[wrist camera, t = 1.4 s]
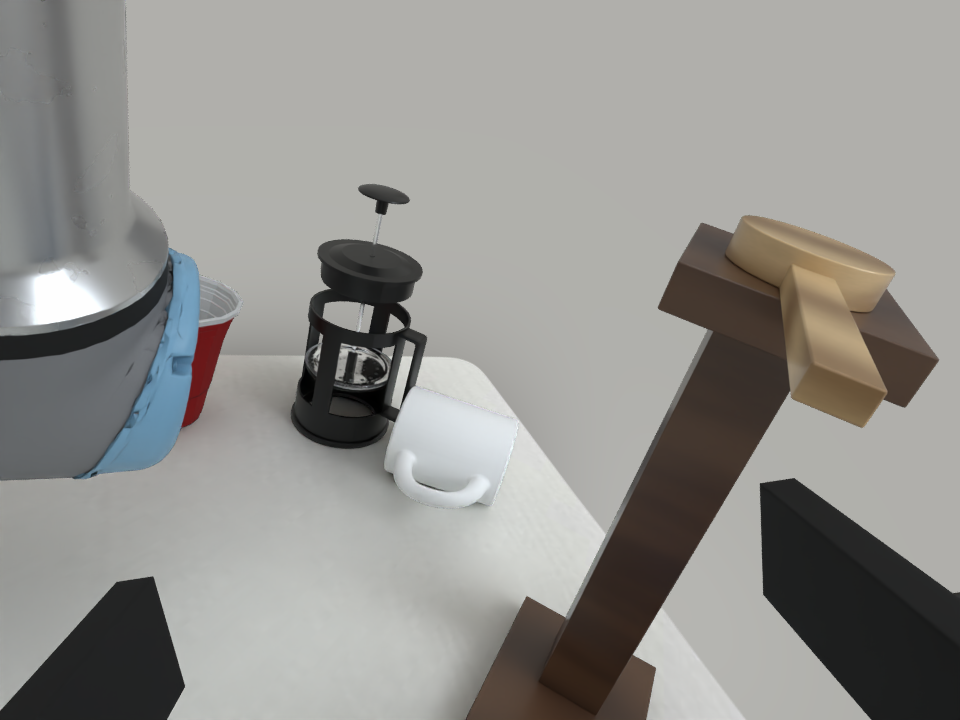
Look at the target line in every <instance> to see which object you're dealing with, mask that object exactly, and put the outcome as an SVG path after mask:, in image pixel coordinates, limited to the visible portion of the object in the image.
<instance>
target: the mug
mask: <svg viewBox="0 0 960 720" xmlns="http://www.w3.org/2000/svg"><path fill="white" fill-rule="evenodd" d="M518 427H519V421H518V419H515V418H512V417H509V416H506V415H503V414H500V413H497V412H494V411H491V410H488V409H485V408H482V407H479V406H476V405H473V404H470V403H467V402H464V401H461V400H458V399H455V398H452V397H449V396H446V395H443V394H440V393H437V392H434V391H431V390H428V389H425V388H422V387H419V386H413V387H412V388H411V389H410V391H409V392H408V394H407V396H406V398H405V400H404V402H403V404H402V406H401V409H400V411H399V414H398V416H397V419H396V421H395V424H394V427H393V430H392V433H391V436H390V439H389V443H388V446H387V450H386V455H385V460H384V468H385V470H386V471H388V472H391V473H393V475H394V480H395V483H396V485H397V486H398V488H399V489H400V490H401V491H402V492H403V493H404V494H405V495H406V496H408V497H409V498H411V499H413V500H415V501H417V502H419V503H422V504H425V505H428V506H432V507H437V508H447V509H454V508H462V507H466V506H469V505H471V504H473V503H475V502H479V503H481V504H484V505H487V506H492V505H493V503H494V501H495V499H496V497H497V494H498V491H499V489H500V486H501V483H502V480H503V477H504V474H505V471H506V468H507V465H508V462H509V459H510V456H511V453H512V449H513V446H514V443H515V439H516V435H517V431H518ZM416 481H417V482H420V483H423V484H426V485H429V486H432V487H435V488H437V489H440V490H443V491H439V490H435V489H431V488H428V487H425V486H422V485H420V484H419V483H417V482H416ZM444 491H446V492H444Z"/></svg>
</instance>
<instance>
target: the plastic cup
mask: <svg viewBox="0 0 960 720" xmlns="http://www.w3.org/2000/svg"><path fill="white" fill-rule="evenodd" d="M199 282H200V313H199V327H198V338H197V344H196V349H195V353H194V359H193V362H192V364H191V367H192V380H191V386H190V392H189V397H188V402H187V407H186V411H185V415H184V419H183V422H182V426H181V428H182V427H185V426H187V425H190V424H192V423H193V422H194V421H195V420H196V419H198V417H199V415H200V413H201V411H202V408H203V406H204V402H205V399H206V395H207V391H208V389H209V386H210V383H211V381H212V377H213V374H214V371H215V367H216V364H217V360H218V357H219V354H220V350H221V347H222V343H223V340H224V338H225V335H226V333H227V330H228V329H229V326H230V324H231V322H232V320H233V319H234V317H236V316H238V314H239V312H240V310H241V307H242V304H243V300H242V299H241V297H240V296H239V294H238V293H237V292H236V291H235V290H233V289H232V288H230V287H228V286H227V285H225V284H223V283H222V282H219V281H217V280H214V279H211V278H208V277H206V276H203V275H200V274H199Z"/></svg>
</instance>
